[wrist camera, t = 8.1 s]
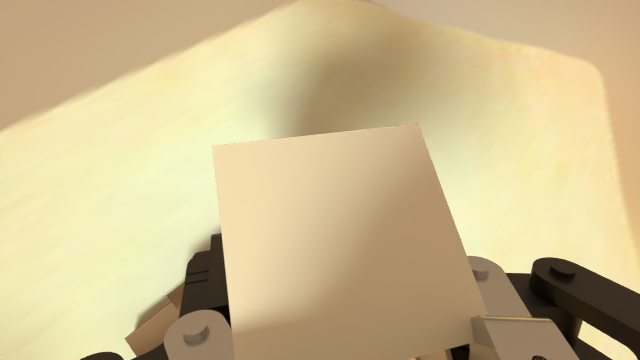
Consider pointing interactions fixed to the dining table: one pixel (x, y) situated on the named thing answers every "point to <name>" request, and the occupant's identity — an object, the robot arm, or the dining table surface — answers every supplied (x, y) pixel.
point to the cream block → (341, 248)
